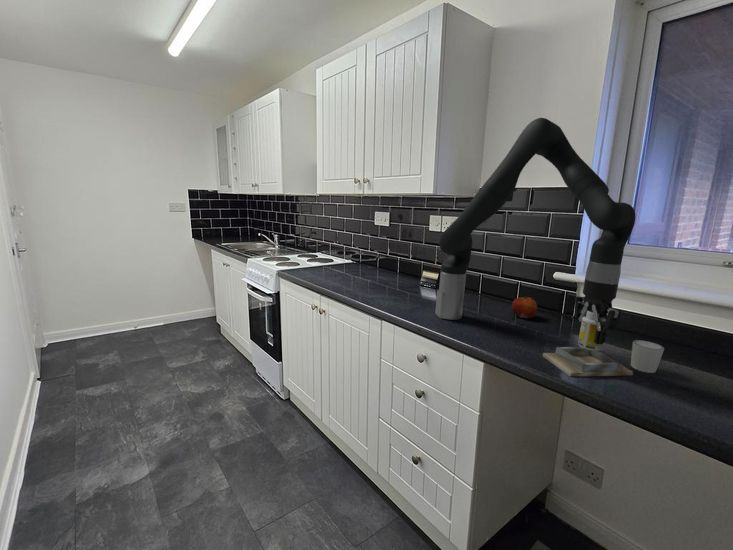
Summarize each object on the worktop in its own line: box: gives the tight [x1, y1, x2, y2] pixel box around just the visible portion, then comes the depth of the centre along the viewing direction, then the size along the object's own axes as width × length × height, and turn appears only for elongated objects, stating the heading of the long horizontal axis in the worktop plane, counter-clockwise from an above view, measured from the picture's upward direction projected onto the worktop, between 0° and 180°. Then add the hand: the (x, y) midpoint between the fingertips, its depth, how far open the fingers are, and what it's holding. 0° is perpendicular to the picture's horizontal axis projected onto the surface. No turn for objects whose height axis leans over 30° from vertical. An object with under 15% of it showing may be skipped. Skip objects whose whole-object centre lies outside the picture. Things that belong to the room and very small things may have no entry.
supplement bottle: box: [577, 311, 604, 351], centre depth 97 cm, size 6×6×10 cm
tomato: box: [511, 296, 538, 319], centre depth 139 cm, size 9×9×8 cm
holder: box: [542, 346, 634, 377], centre depth 99 cm, size 18×12×3 cm, turn 97°
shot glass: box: [630, 339, 665, 374], centre depth 99 cm, size 7×7×7 cm
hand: (590, 338), depth 98 cm, fingers closed on supplement bottle, 5 cm apart
